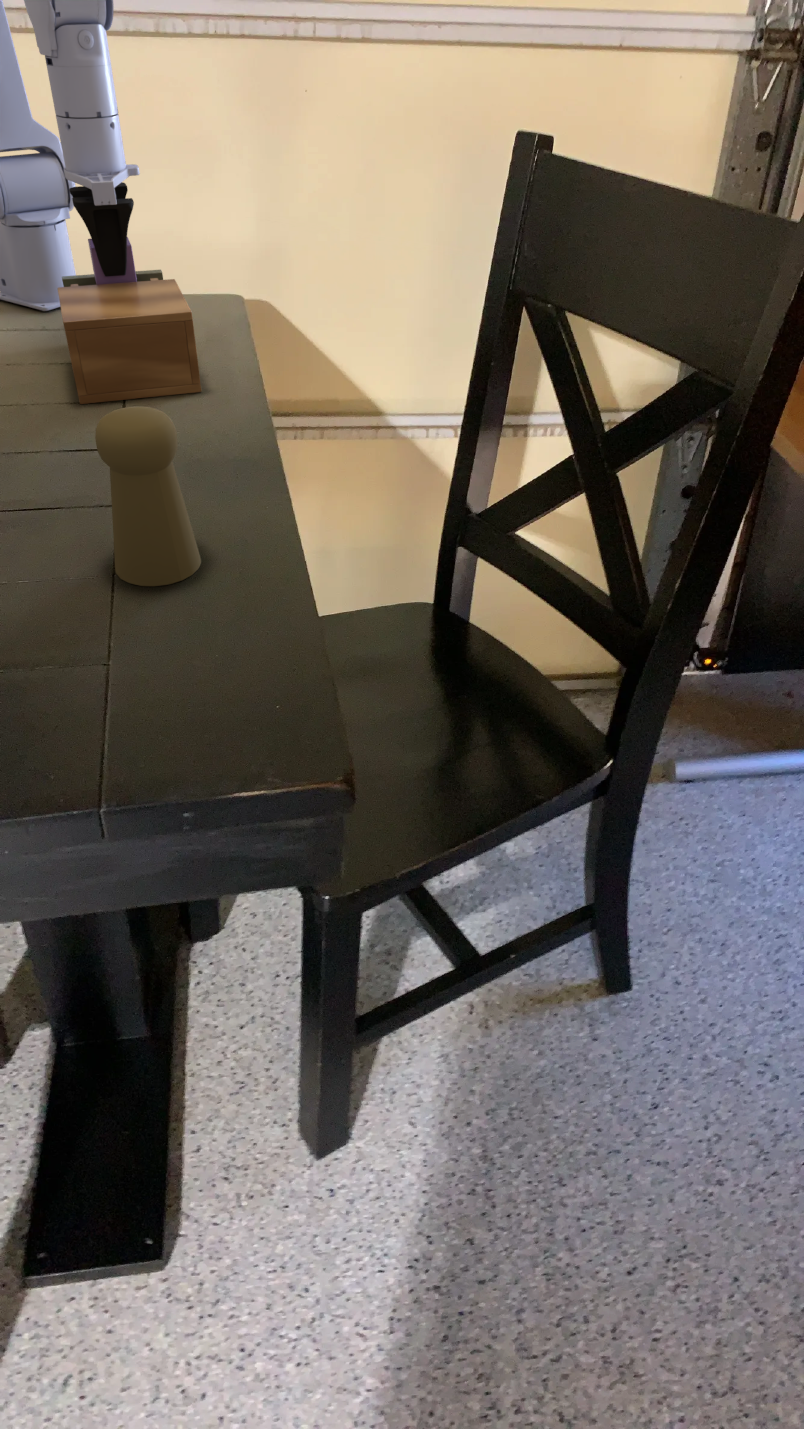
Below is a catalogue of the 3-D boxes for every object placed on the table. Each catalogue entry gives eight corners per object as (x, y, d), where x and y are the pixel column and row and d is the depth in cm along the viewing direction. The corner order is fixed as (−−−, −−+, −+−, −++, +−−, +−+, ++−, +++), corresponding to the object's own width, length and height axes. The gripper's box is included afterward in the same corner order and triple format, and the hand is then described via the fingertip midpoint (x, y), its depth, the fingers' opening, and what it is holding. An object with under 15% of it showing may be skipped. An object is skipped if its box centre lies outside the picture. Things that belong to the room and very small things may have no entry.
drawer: (70, 321, 108) (59, 266, 104) (163, 313, 110) (156, 259, 106) (78, 364, 97) (66, 304, 93) (181, 354, 99) (174, 296, 96)
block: (95, 279, 100) (87, 238, 97) (133, 277, 101) (127, 236, 98) (98, 290, 97) (90, 247, 94) (137, 287, 98) (131, 245, 95)
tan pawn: (106, 553, 69) (75, 403, 62) (188, 536, 71) (167, 390, 64) (125, 593, 65) (93, 438, 58) (211, 575, 67) (191, 422, 60)
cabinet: (72, 364, 99) (57, 287, 94) (184, 353, 102) (174, 278, 97) (80, 404, 91) (63, 321, 86) (201, 391, 94) (191, 311, 89)
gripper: (139, 124, 85) (161, 285, 94) (123, 103, 96) (144, 249, 104) (57, 126, 83) (87, 290, 92) (50, 105, 94) (78, 253, 102)
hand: (113, 269), depth 98 cm, fingers closed on block, 4 cm apart
